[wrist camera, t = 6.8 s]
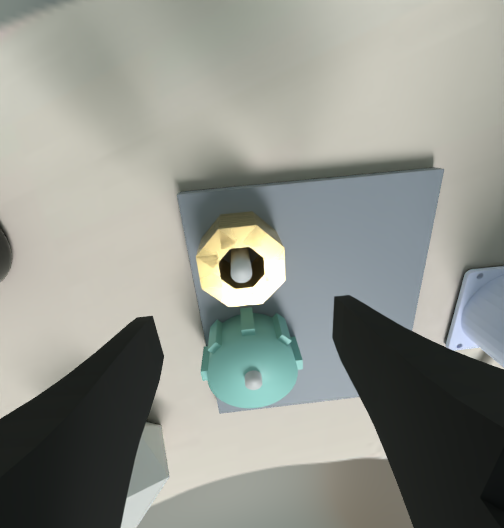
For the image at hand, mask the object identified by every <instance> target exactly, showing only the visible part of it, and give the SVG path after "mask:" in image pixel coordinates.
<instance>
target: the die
mask: <svg viewBox="0 0 504 528" xmlns="http://www.w3.org/2000/svg"><path fill="white" fill-rule="evenodd" d="M168 478H169V471H168V465H167V459H166V453H165V446H164V440H163V434H162V428H161V425H158V424H153V423H149V422H146V424H145V427H144V430H143V433H142V436H141V439H140V443H139V446H138V450H137V453H136V458H135V462H134V467H133V471H132V475H131V480H130V484H129V489H128V494H127V499H126V504H125V509H124V514H123V518H122V524H121V528H136V527H137V526H138V524H139V523H140V521H141V520H142V518H143V517H144V515H145V514H146V512H147V510H148V509H149V507H150V506H151V504H152V503H153V501H154V500H155V498H156V497H157V495H158V494H159V492H160V491H161V489H162V488H163V486H164V484H165V483H166V481H167V480H168Z"/></svg>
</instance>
